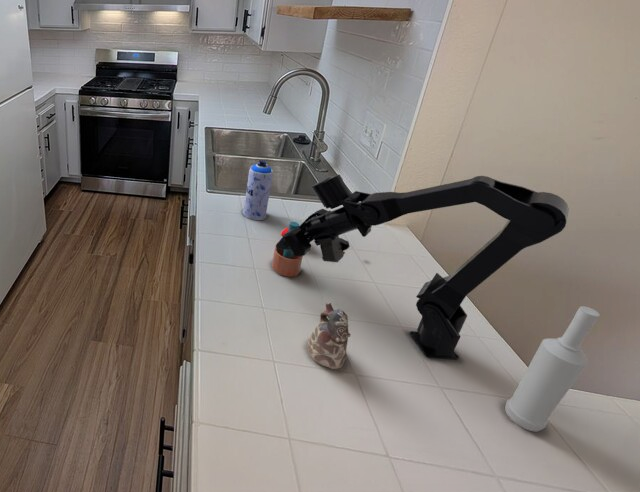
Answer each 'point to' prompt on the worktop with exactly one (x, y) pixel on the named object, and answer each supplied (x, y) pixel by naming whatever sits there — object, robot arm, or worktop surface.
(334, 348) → the figurine
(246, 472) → the worktop surface
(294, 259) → the tumbler
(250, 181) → the aerosol can
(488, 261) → the robot arm
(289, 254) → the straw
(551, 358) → the bottle
